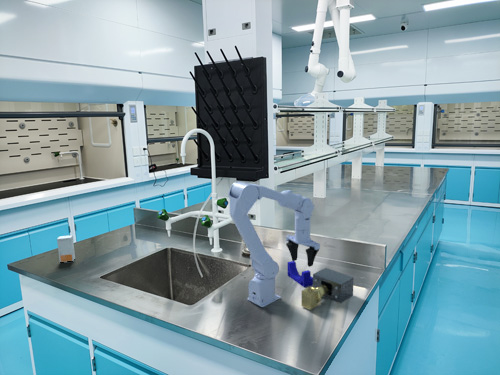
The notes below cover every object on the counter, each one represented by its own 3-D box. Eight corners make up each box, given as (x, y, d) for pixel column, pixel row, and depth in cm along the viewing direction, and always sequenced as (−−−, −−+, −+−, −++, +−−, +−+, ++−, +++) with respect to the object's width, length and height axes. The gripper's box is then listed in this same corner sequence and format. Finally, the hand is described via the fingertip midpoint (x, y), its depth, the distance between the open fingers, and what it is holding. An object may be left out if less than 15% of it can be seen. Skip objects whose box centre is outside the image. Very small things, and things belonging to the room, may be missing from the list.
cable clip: (313, 285, 135) (313, 270, 134) (303, 287, 133) (304, 273, 132) (296, 273, 145) (296, 260, 144) (287, 275, 144) (287, 262, 142)
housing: (339, 303, 120) (340, 285, 119) (311, 292, 129) (311, 274, 128) (353, 295, 126) (353, 277, 125) (325, 284, 135) (325, 267, 133)
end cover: (312, 311, 115) (312, 294, 114) (299, 304, 119) (299, 289, 118) (330, 300, 122) (330, 284, 121) (317, 294, 126) (317, 279, 125)
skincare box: (59, 263, 162) (56, 239, 160) (61, 260, 166) (58, 236, 164) (73, 261, 164) (70, 237, 161) (75, 258, 168) (72, 234, 165)
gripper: (325, 230, 126) (324, 265, 128) (294, 222, 137) (294, 255, 139) (313, 234, 121) (312, 271, 124) (282, 226, 132) (282, 260, 134)
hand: (302, 263), depth 131 cm, fingers open, 7 cm apart
